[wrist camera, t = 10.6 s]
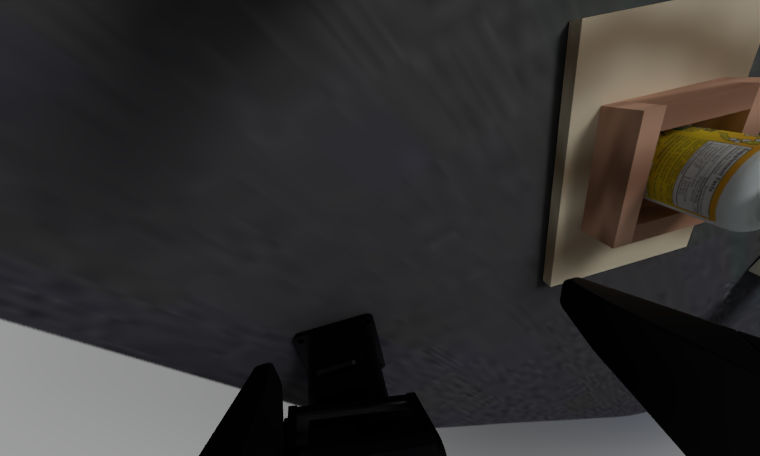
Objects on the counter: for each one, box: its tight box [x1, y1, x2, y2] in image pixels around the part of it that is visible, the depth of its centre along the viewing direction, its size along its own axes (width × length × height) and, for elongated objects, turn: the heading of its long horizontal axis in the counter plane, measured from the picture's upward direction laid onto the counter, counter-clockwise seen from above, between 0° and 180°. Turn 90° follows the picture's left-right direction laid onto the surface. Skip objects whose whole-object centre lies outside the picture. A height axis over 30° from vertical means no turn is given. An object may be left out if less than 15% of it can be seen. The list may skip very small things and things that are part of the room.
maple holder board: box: [543, 0, 760, 287], centre depth 22 cm, size 20×14×4 cm
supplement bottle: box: [643, 125, 760, 232], centre depth 19 cm, size 5×5×10 cm
